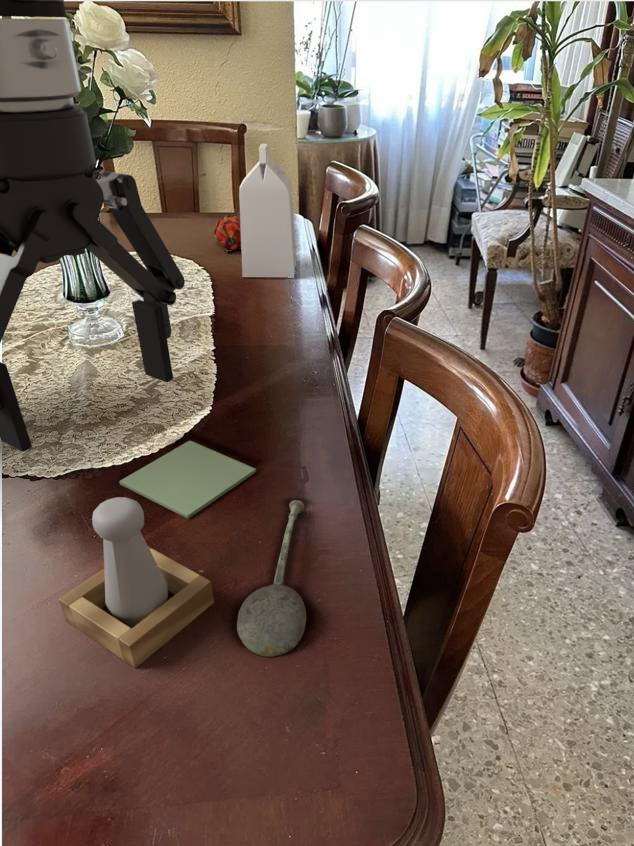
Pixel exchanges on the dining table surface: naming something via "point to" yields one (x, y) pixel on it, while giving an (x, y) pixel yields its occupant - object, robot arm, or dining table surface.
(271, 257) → the milk
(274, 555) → the dining table surface
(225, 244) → the dragon fruit
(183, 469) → the mat
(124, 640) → the frame
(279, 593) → the soupspoon
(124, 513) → the salt shaker
